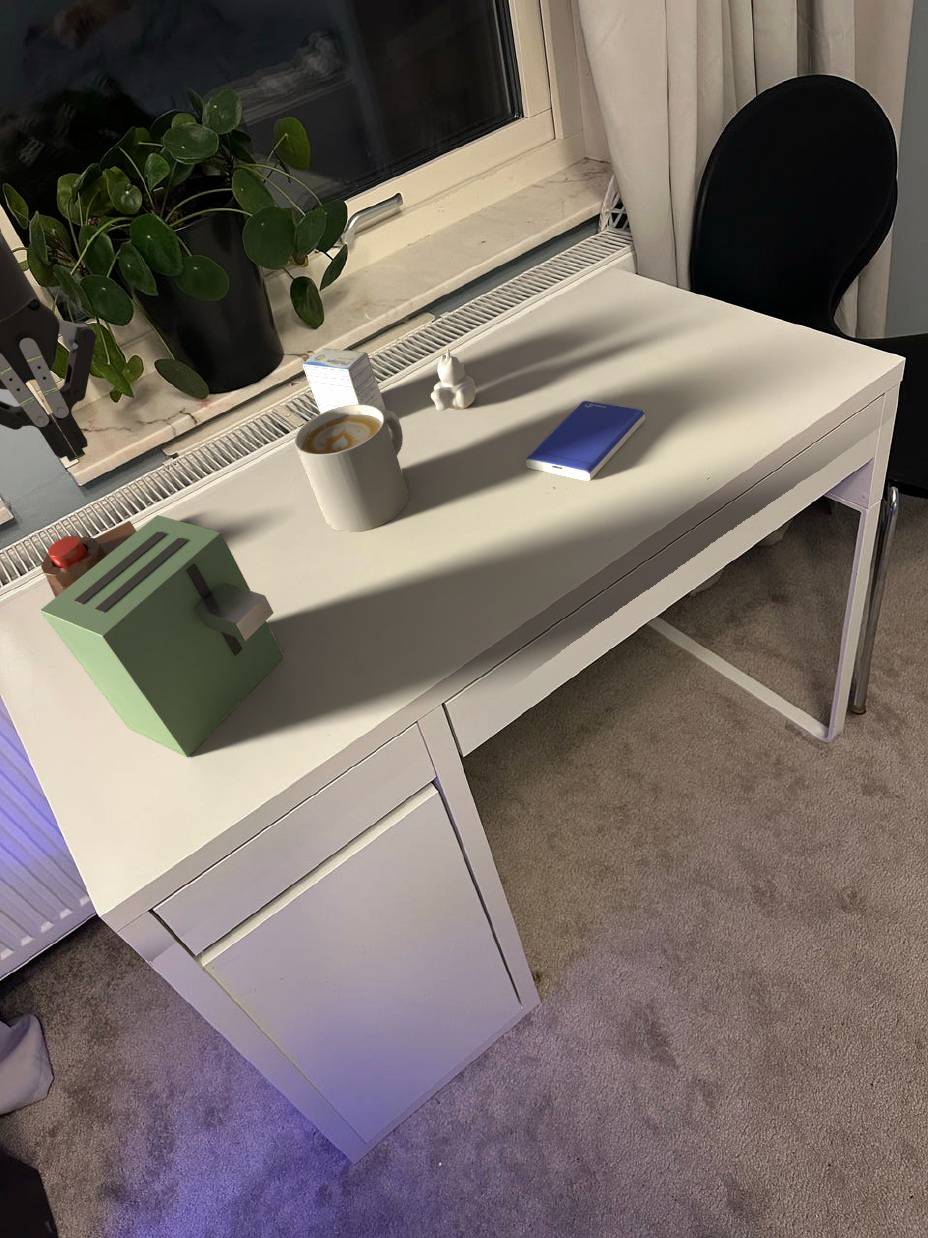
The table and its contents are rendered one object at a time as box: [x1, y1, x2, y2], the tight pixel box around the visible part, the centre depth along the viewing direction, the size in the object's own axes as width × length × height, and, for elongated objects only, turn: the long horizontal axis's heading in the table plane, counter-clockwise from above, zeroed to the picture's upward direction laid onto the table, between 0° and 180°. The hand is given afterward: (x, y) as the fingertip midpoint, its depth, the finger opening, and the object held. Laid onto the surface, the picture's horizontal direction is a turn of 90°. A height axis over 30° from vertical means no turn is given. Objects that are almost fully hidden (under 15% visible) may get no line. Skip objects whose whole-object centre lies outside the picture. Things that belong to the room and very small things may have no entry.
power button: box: [47, 535, 87, 568], centre depth 94 cm, size 4×4×2 cm
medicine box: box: [302, 347, 387, 414], centre depth 109 cm, size 8×4×9 cm, turn 58°
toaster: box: [39, 514, 285, 758], centre depth 74 cm, size 13×9×15 cm, turn 148°
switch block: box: [40, 520, 138, 598], centre depth 96 cm, size 11×9×4 cm
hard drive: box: [525, 400, 646, 482], centre depth 95 cm, size 2×8×12 cm
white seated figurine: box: [430, 348, 476, 412], centre depth 105 cm, size 5×7×8 cm
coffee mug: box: [294, 404, 409, 533], centre depth 93 cm, size 13×10×10 cm
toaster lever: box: [195, 583, 274, 641], centre depth 69 cm, size 4×5×2 cm
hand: (75, 455), depth 72 cm, fingers closed
